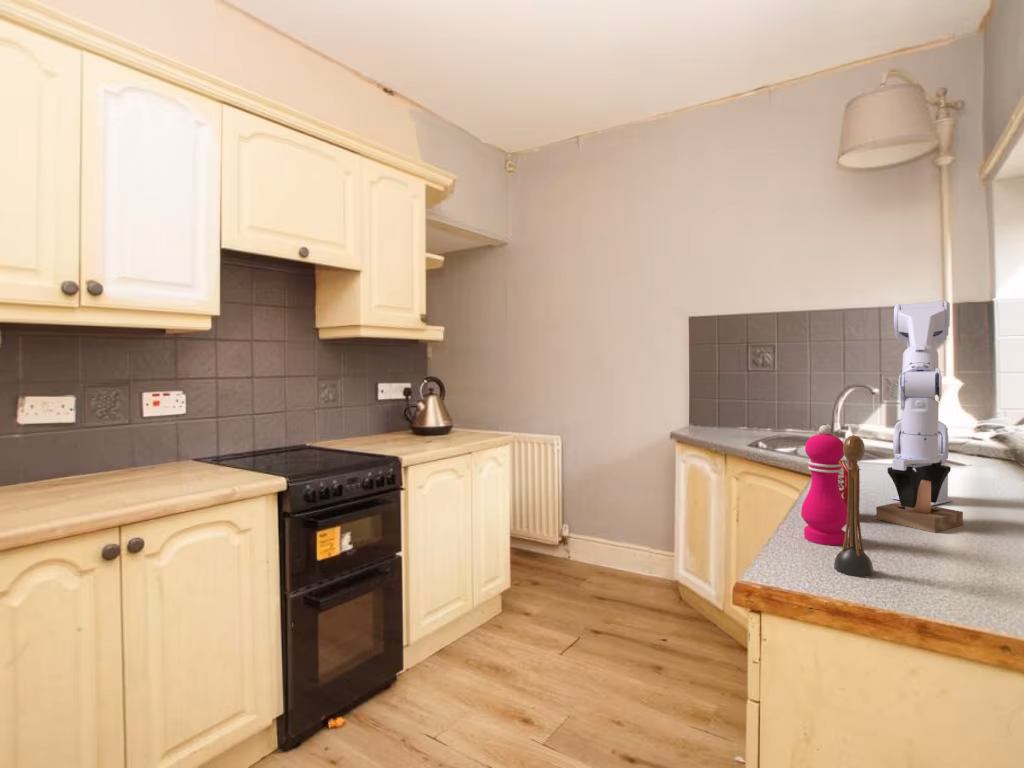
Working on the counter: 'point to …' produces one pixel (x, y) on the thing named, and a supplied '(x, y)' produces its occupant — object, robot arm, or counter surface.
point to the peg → (923, 498)
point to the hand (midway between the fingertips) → (918, 504)
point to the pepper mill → (824, 490)
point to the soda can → (845, 479)
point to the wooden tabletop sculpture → (853, 517)
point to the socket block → (920, 517)
